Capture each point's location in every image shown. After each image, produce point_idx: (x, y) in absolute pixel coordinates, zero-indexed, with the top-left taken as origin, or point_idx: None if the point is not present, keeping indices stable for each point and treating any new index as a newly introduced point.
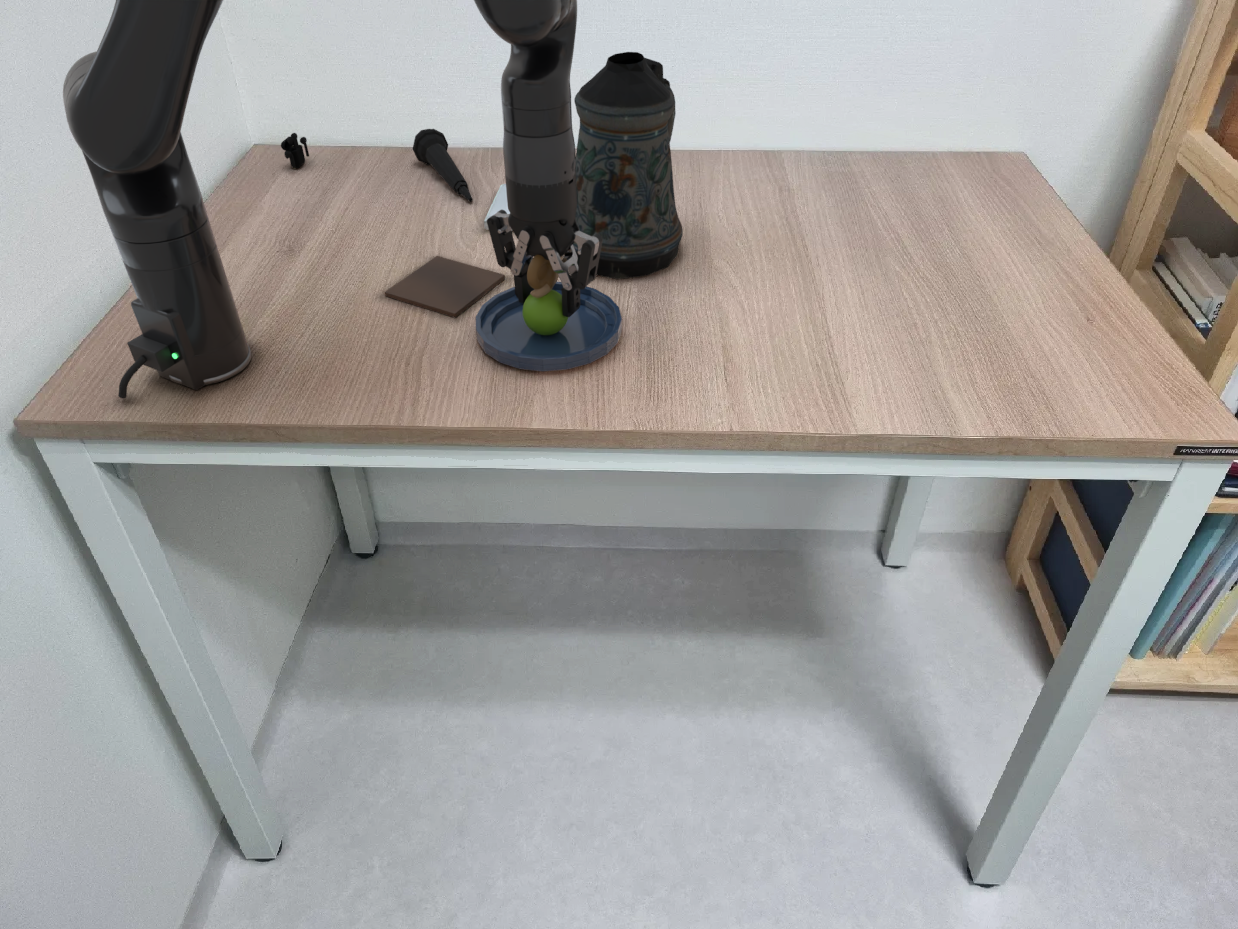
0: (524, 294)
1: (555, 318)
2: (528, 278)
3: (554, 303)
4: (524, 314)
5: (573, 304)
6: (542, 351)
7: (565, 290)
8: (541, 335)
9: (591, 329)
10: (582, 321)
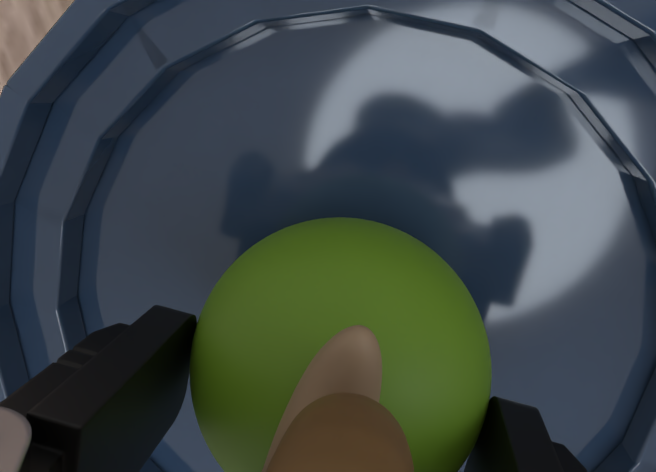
0: (500, 449)
1: (229, 273)
2: (370, 441)
3: (222, 356)
4: (452, 279)
5: (72, 355)
6: (315, 129)
7: (40, 414)
8: None
9: None
10: None
